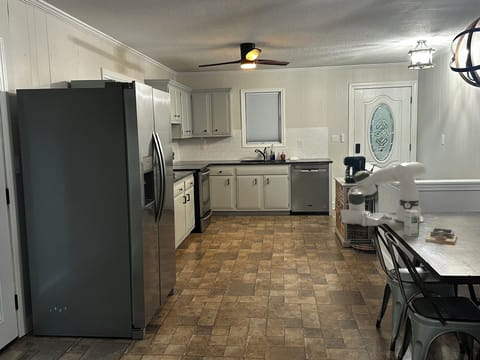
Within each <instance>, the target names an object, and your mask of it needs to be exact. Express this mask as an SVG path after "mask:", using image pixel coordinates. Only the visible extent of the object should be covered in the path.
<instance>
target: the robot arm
mask: <svg viewBox="0 0 480 360" xmlns="http://www.w3.org/2000/svg"><path fill="white" fill-rule="evenodd" d="M426 171H427V168H426V166H425V164H424V163H423V162H422V163H421V162H418V161H410V162H402V163H399V164H398V165H393V166H388V167H384V168H380V169H377V170H375V171H374V172H371V171H367V170H360V171H357V172H356V173H355V174H354V175H353V180H354V182H355V184H356V185H354V186H352V187H350V189H348V192H347V201H348V209H341V210H340V213H339V214H340V221H341V223H344V224H349V225H359V226H362V227H367V226H370V227H373V226H374V227H377V226H380V225H384V224H386V225H387V224H389V223H390V221H393V220H394V221H395V220H396V221H398V222H403V223H404V220H405V210H417V211H419V223H424V222H425V221H424V218H423V216H422V215H423V214H421V211H422V209H421V208H420V206H419V204H420V201H419V187H418V186H417V185H416V181H415V179H420V178H422V177H423V176H424V175H425V174H426V173H427V172H426ZM395 183H398V184H399V188H400V189H399V190H400V193H399V194H400V195H399V196H400V197H399V203H398V204H399V205H398V206H397V207H396V216H395V217H394V218H393V217H392V216H387V215H386V213H379V212H375V213H372V212H371V211H370V210H366V209H365V208H366V205H365V204H366V203H365V201H371V200H374V199H376V198H377V197H378V196H379V190H378V188H377V187H376V186H377V185H379V186H380V185H382V186H383V185H389V184H395Z"/></svg>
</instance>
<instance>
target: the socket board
mask: <svg viewBox="0 0 480 360" xmlns="http://www.w3.org/2000/svg"><path fill="white" fill-rule="evenodd" d="M457 239H458V234H456V233H455V229H451V228H450V229H449V228H441V227H432V229H431V230H430V231H429V233H428V234H427V236H426V237H425V242H429V243H437V244H444V245H445V244H446V245H455V243H456V241H457Z"/></svg>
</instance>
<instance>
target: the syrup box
mask: <svg viewBox="0 0 480 360" xmlns="http://www.w3.org/2000/svg"><path fill="white" fill-rule="evenodd" d="M403 223H404V224H403V225H404V228H403V229H404V230H403V231H404V235H405V236H408V237H419V236H420V235H419V234H420V222H419V211H417V210H405V220H404V222H403Z"/></svg>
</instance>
